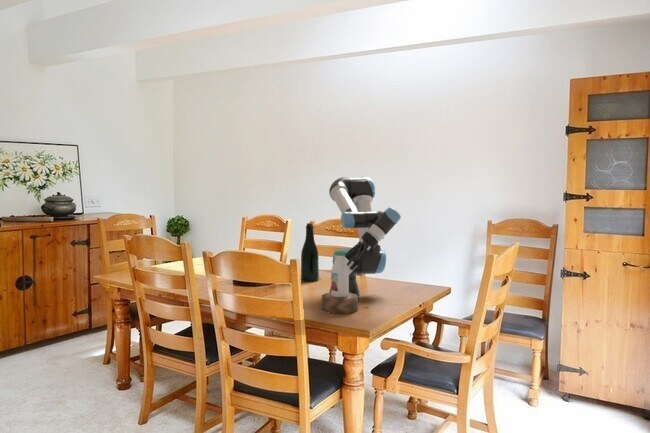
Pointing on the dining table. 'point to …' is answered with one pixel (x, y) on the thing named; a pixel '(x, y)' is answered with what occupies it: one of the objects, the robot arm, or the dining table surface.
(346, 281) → the milk bottle
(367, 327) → the dining table surface
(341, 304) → the walnut stand
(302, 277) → the dark green wine bottle
